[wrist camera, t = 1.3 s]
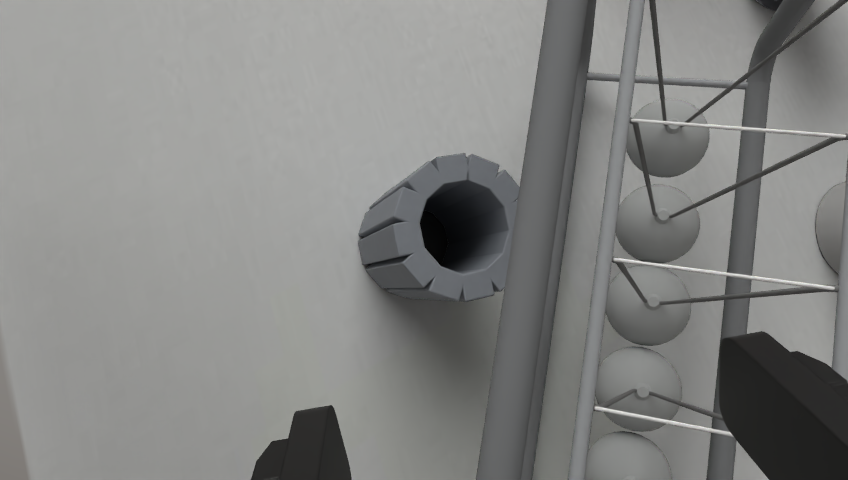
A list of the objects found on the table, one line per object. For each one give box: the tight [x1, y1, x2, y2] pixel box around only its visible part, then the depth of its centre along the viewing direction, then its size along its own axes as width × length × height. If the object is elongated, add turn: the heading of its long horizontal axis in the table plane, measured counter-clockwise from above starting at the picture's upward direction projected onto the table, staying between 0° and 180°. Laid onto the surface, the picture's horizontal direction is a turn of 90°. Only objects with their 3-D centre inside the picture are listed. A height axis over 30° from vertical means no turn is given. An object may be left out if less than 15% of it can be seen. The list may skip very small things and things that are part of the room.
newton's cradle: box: [476, 0, 848, 480], centre depth 23 cm, size 30×10×18 cm, turn 170°
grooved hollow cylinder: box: [358, 153, 520, 302], centre depth 27 cm, size 6×6×8 cm
